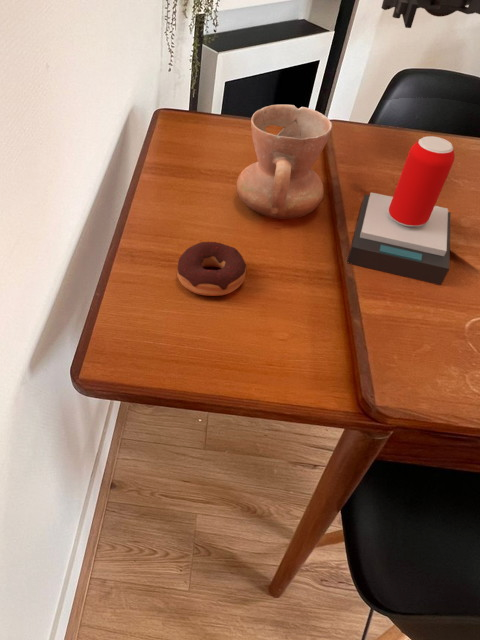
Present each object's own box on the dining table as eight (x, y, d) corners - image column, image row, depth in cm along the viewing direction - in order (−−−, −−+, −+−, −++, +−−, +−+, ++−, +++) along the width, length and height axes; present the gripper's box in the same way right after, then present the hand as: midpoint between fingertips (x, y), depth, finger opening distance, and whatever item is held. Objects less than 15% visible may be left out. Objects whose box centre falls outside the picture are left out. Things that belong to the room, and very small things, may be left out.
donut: (212, 249, 81) (214, 227, 78) (259, 281, 76) (263, 259, 73) (162, 275, 76) (162, 252, 73) (208, 311, 71) (210, 288, 68)
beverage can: (420, 210, 84) (451, 134, 75) (431, 232, 80) (465, 155, 71) (382, 207, 84) (409, 131, 75) (390, 229, 80) (420, 152, 71)
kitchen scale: (441, 285, 78) (452, 263, 75) (346, 263, 80) (353, 240, 77) (443, 228, 88) (453, 206, 85) (359, 210, 90) (366, 188, 87)
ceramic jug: (244, 174, 97) (254, 91, 86) (323, 187, 95) (343, 105, 84) (224, 227, 85) (232, 139, 74) (313, 243, 83) (335, 156, 72)
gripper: (513, 19, 86) (545, 64, 72) (358, 2, 88) (361, 42, 74) (537, -38, 80) (577, -2, 66) (372, -55, 82) (377, -23, 68)
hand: (463, 22), depth 70 cm, fingers open, 13 cm apart
